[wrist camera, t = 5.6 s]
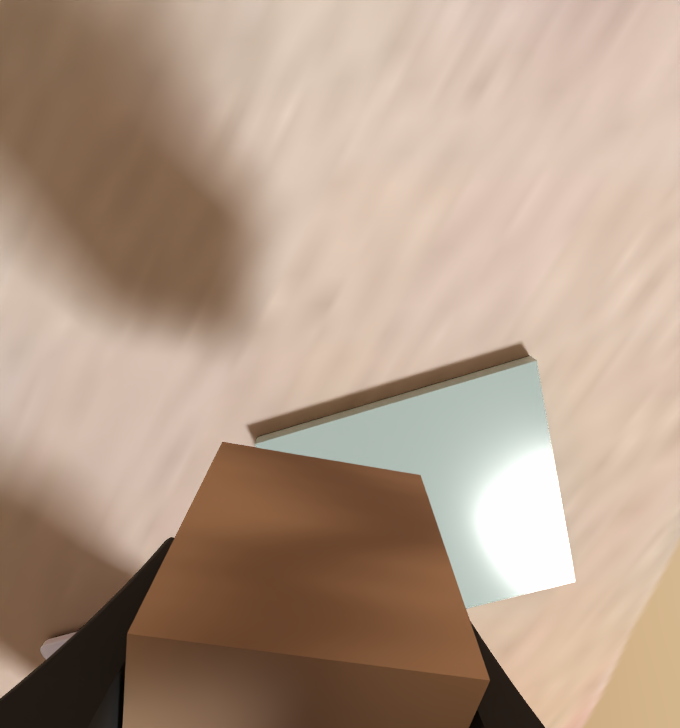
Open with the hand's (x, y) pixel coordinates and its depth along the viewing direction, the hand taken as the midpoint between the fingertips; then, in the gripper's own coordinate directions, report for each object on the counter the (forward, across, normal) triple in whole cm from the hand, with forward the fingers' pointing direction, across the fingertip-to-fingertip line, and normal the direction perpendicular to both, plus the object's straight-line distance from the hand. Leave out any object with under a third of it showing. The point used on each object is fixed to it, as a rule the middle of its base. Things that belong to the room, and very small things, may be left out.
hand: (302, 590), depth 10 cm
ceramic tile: (+9, -6, +4) cm, 11 cm away
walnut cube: (+2, 0, 0) cm, 2 cm away
